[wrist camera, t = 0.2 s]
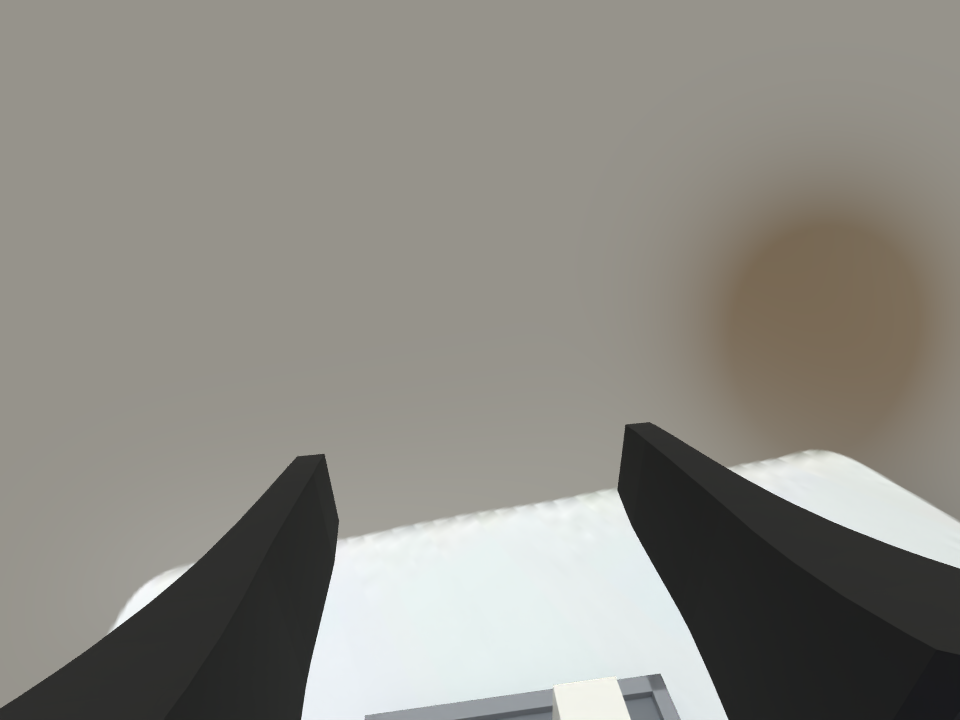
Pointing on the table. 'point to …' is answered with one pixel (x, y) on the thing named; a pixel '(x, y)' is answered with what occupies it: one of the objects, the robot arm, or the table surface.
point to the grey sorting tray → (545, 705)
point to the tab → (589, 700)
